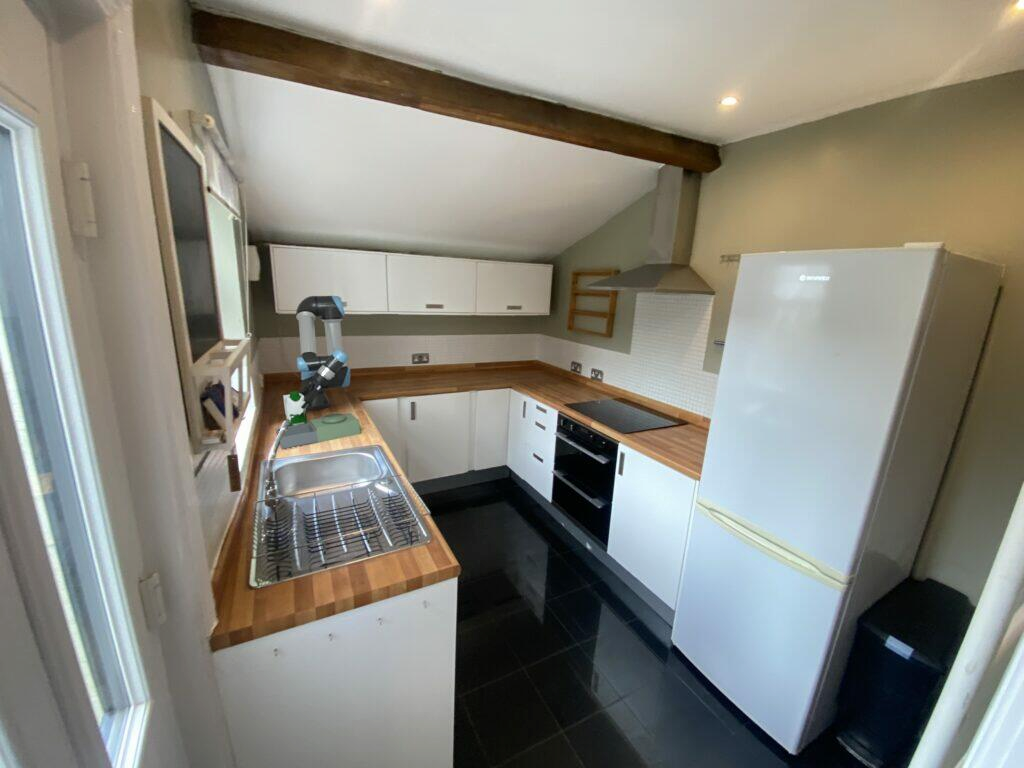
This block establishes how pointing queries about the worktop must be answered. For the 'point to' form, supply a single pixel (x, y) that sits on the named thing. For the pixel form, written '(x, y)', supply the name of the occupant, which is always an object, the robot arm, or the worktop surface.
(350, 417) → the side socket deck
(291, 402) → the soya milk
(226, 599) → the worktop surface
